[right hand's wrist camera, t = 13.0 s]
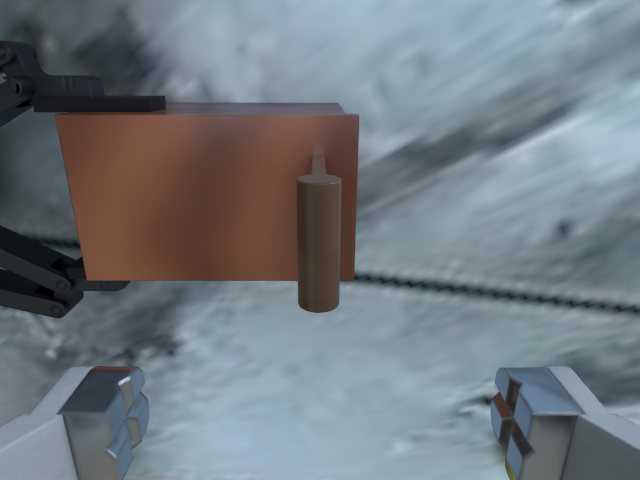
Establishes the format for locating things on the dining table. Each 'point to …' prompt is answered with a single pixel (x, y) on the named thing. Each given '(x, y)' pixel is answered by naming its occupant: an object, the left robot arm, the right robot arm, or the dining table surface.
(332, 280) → the lid
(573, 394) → the right robot arm
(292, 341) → the dining table surface
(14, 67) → the left robot arm
